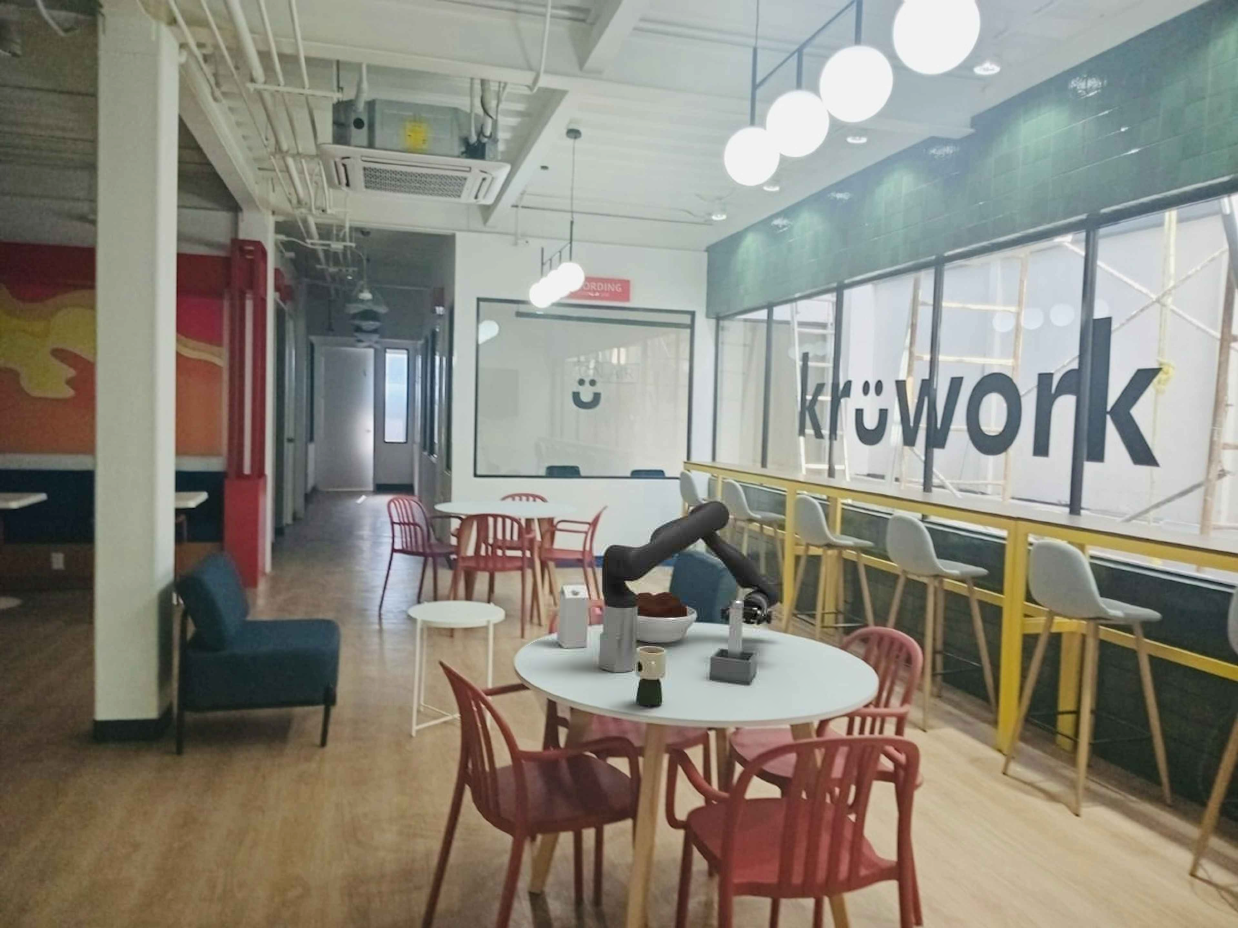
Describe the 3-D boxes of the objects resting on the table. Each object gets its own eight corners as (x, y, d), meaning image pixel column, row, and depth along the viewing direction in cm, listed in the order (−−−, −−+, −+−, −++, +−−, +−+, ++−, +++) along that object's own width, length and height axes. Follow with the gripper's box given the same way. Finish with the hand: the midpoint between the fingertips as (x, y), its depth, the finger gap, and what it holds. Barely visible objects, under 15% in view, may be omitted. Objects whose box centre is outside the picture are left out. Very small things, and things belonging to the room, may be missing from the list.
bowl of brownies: (655, 654, 251) (657, 602, 250) (598, 636, 269) (600, 588, 268) (712, 643, 267) (714, 594, 267) (655, 627, 286) (657, 581, 285)
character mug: (632, 696, 210) (634, 643, 210) (661, 697, 210) (664, 644, 210) (635, 710, 199) (638, 655, 199) (666, 711, 200) (668, 656, 199)
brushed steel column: (740, 676, 228) (744, 603, 227) (723, 674, 229) (726, 601, 228) (743, 671, 233) (747, 599, 232) (726, 669, 234) (730, 597, 233)
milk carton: (556, 642, 259) (559, 579, 258) (579, 641, 262) (582, 579, 261) (563, 648, 252) (566, 584, 252) (586, 647, 255) (589, 583, 254)
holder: (749, 684, 224) (750, 661, 224) (709, 679, 227) (710, 656, 227) (756, 674, 234) (757, 652, 234) (717, 669, 238) (718, 647, 237)
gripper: (729, 593, 257) (717, 603, 241) (777, 598, 252) (768, 609, 237) (727, 618, 257) (716, 630, 242) (776, 624, 253) (767, 636, 237)
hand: (742, 619), depth 239 cm, fingers open, 8 cm apart
